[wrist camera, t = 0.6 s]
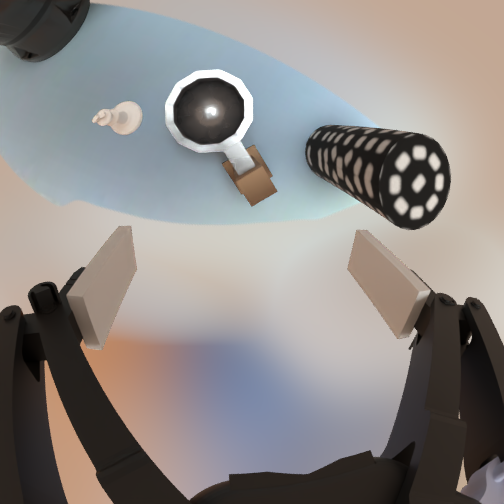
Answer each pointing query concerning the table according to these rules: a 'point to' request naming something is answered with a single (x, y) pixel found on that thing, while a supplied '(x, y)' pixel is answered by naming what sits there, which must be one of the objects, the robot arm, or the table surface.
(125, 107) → the chess piece
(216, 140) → the cup bracket
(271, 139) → the table surface
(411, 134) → the white-spotted black cylinder
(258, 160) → the walnut post
